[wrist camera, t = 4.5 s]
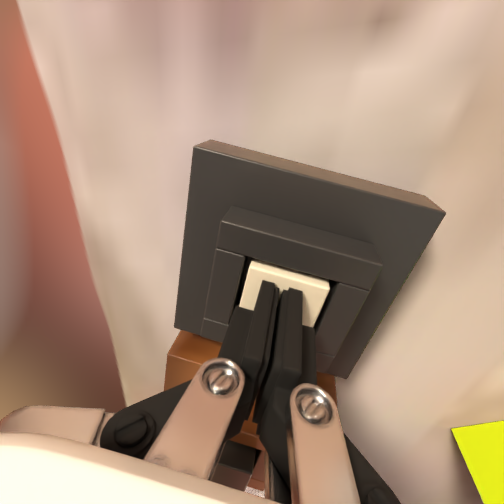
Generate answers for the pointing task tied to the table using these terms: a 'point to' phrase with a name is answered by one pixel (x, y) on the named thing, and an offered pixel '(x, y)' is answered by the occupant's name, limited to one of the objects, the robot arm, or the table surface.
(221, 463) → the key ebony
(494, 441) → the puzzle toy
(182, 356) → the block walnut
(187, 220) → the block black
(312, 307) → the key ivory
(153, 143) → the table surface
